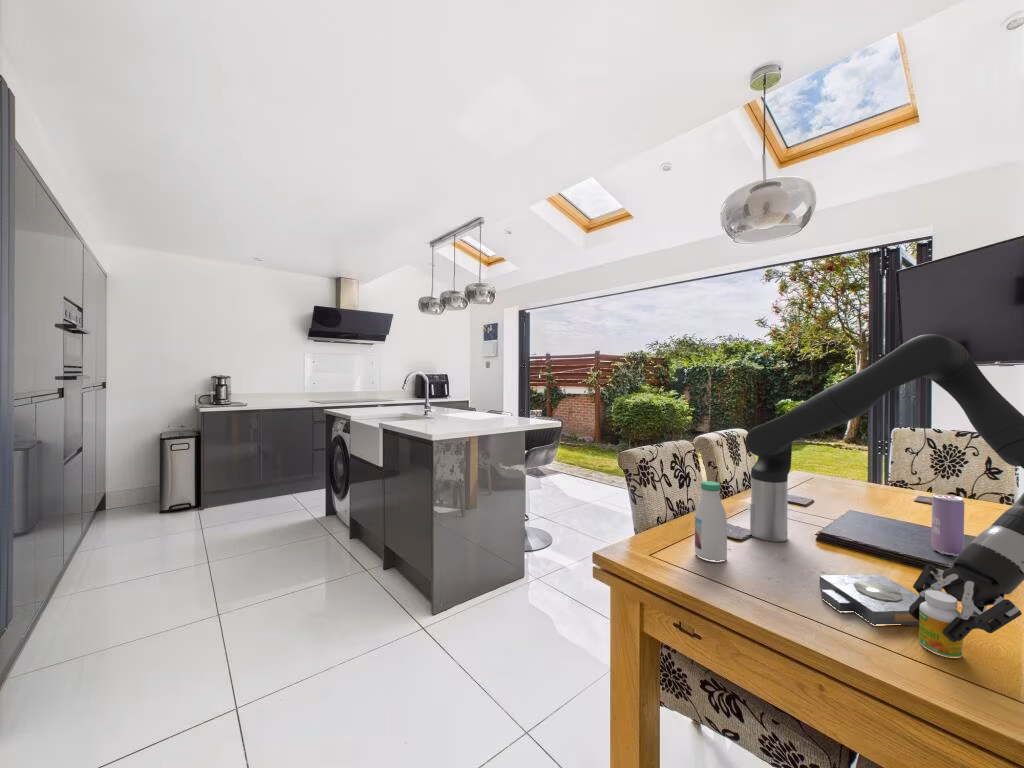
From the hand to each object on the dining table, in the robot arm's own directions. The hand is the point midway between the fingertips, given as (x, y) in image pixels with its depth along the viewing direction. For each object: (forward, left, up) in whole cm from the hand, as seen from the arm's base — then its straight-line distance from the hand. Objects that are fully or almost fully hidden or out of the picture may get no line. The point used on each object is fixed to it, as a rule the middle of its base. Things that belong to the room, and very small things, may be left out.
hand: (930, 626), depth 74 cm
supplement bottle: (+1, +1, -4) cm, 5 cm away
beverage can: (+13, +55, -5) cm, 57 cm away
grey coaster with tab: (-7, +12, -4) cm, 15 cm away
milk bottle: (-39, +19, -5) cm, 43 cm away
